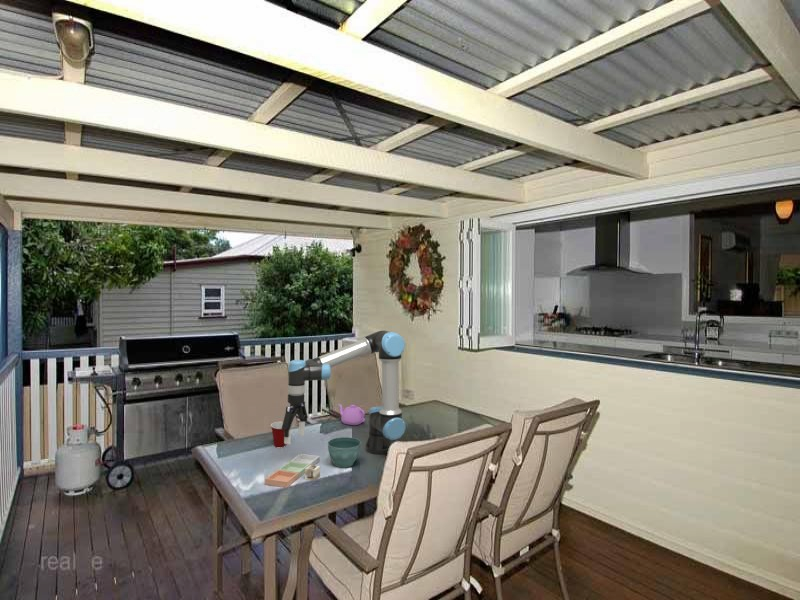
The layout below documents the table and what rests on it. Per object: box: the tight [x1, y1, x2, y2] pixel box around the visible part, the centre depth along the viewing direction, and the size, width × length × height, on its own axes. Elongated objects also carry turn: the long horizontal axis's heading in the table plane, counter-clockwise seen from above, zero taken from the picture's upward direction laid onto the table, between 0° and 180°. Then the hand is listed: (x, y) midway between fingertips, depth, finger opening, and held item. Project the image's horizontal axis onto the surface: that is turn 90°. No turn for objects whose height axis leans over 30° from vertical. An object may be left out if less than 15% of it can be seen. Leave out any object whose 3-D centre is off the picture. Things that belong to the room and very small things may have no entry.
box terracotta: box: [264, 469, 300, 489], centre depth 200 cm, size 11×11×2 cm
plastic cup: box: [270, 421, 287, 448], centre depth 245 cm, size 11×11×12 cm
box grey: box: [290, 453, 321, 466], centre depth 221 cm, size 11×11×2 cm
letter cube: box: [304, 464, 321, 482], centre depth 204 cm, size 5×5×5 cm
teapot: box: [337, 403, 366, 426], centre depth 292 cm, size 20×13×12 cm, turn 68°
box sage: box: [277, 460, 310, 479], centre depth 211 cm, size 11×11×2 cm
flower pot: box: [327, 436, 362, 468], centre depth 222 cm, size 16×16×11 cm
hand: (294, 439), depth 211 cm, fingers open, 13 cm apart
